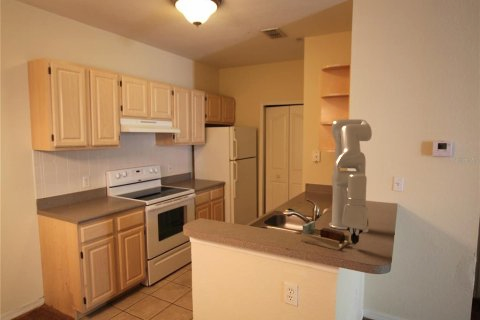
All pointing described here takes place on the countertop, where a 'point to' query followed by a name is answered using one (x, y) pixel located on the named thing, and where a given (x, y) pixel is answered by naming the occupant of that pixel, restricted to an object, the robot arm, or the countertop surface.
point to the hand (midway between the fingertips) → (354, 242)
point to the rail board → (314, 237)
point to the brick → (332, 234)
